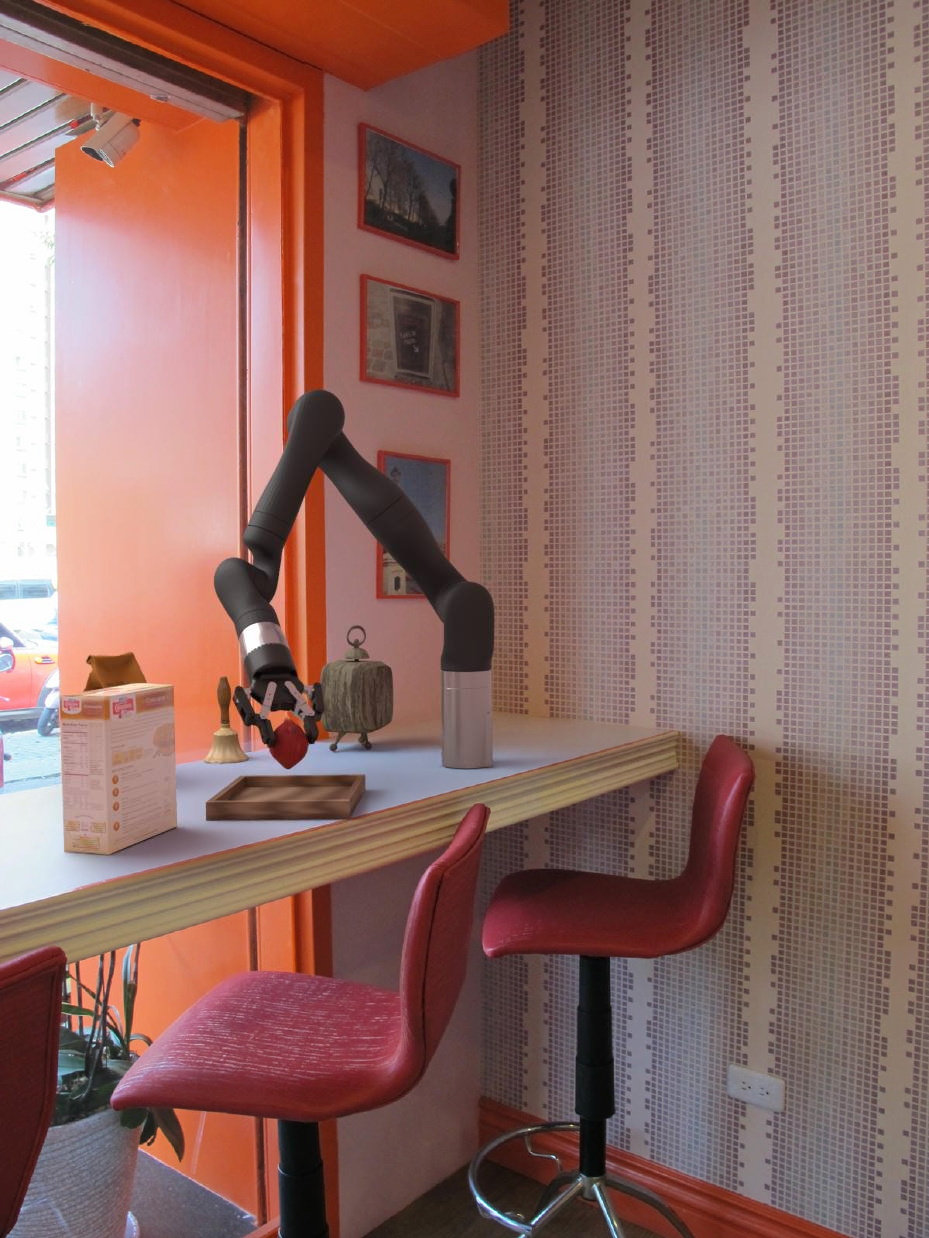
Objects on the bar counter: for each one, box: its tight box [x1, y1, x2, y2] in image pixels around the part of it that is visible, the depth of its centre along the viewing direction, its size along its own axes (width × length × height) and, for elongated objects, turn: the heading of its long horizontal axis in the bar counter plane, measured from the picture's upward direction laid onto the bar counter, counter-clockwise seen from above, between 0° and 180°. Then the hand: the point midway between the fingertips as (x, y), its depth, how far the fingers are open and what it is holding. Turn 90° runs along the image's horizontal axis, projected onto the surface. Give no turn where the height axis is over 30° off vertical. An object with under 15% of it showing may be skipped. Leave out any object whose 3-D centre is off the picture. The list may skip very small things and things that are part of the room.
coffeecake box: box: [58, 682, 178, 856], centre depth 126 cm, size 15×7×20 cm, turn 163°
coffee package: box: [82, 650, 148, 692], centre depth 164 cm, size 10×12×22 cm
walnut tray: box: [205, 773, 366, 821], centre depth 146 cm, size 20×20×2 cm
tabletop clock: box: [319, 624, 394, 752], centre depth 198 cm, size 14×9×25 cm, turn 154°
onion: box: [268, 715, 310, 770], centre depth 146 cm, size 6×6×8 cm
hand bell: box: [203, 676, 249, 764], centre depth 186 cm, size 8×8×16 cm
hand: (292, 742), depth 145 cm, fingers closed on onion, 5 cm apart
